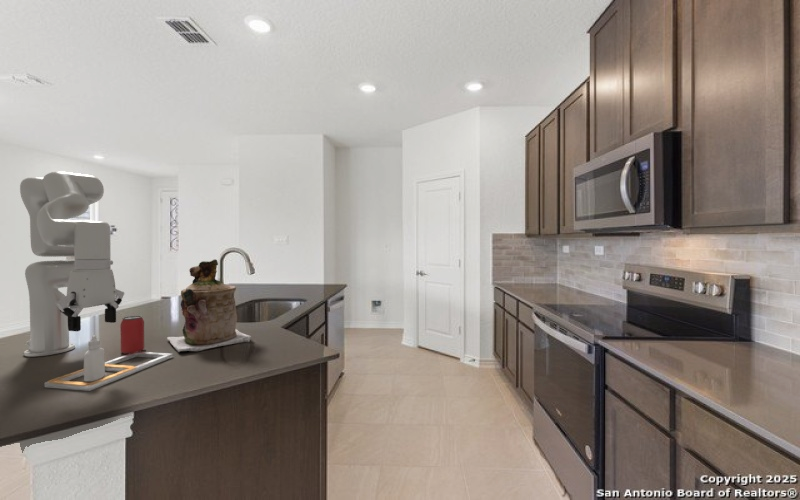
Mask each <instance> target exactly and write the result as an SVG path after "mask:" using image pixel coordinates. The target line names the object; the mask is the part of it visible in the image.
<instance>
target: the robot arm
mask: <svg viewBox="0 0 800 500" xmlns="http://www.w3.org/2000/svg"><path fill="white" fill-rule="evenodd" d="M19 184H20V185H19V192H20V197H21V200H22V203H23V205H24V207H25V209H26V210H27V213H28V216H29V231H30V233H29V234H30V235H29V237H30V249H31V251H32V253H33V255H35V256H37V257H42V258H43V257H44V258H45V257H46V258H51V257H52V258H55V257H57V258H61V257H64V258H65V257H67V258H68V257H73V259H74V260H73V259H72V260H71V259H70V260H42V261H41V260H40V261H35V262H33V263H30V264H29V265H27V266H26V268H25V271H24V277H25V281H26V285H27V290H28V297H29V299H28V300H29V333H30V334H29V335H30V336H29V337H30V339H28V340H27V341H25V342H24V345H25V346H28V349H27V350H24V351H23V356H25V357H36V358H37V357H45V356H52V355H57V354H63V353H66V352H69V351H71V350H73V349H75V348H76V344H75V343H73V342H70V332H80V331H81V328H82V325H81V324H82V321H81V320H82V319H81V315H80V313H81V312H82V310H83V309H86V308H87V309H88V308H93V307H99V306H102V305H104V306H105V307H106V308H104V322H105V323H110V324H112V323H116V322H117V309H118V308H119V305H120V304H121V303H122V300H123V298H124V296H125V292H124V291H121V290H119V289H116V281H115V280H116V279H115V275H114V271H113V269H112V268H111V266H112V265H114V261H113V260H111V225H110V224H109V223H108V222H105V221H97V220H81V219H80V220H79V219H77V220H76V219H73V218H77V217H79V216H82V215H84V214H85V213H86V212H87V211H88V210H89V206H90V205H92V204H95V203H98V202H99V201H101V199H103V196H104V193H105V189H104V185H103V182H102V181H101V179H99V178H98V177H97V176H94V175H90V174H81V173H73V172H66V171H52V172H48V173H46V174H45V175H44V176H43V177H41V176H40V177H39V176H38V177H35V176H33V177H27V178H24V179H22V180H21V182H20V183H19ZM60 288H67V289H66V294H65V293H63V292H61V291H60V290H59V289H60Z"/></svg>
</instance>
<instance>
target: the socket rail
mask: <svg viewBox="0 0 800 500" xmlns="http://www.w3.org/2000/svg"><path fill="white" fill-rule="evenodd" d="M137 357H139V358H152V359H151V360H149V361H146V362H143V363H140V364H138V365H136V366H134V365H127V364H126V365H125V364H119V363H123V362H125V361H128V360H132V359H133V358H137ZM172 358H174V353H169V352H152V351H140V352H134V353H130V354H125V355H122V356H119V357H116V358H114V359H110V360H108V361H105V372H115V373H113V374H112V373H111V374H110V375H108V376H105V377H102V378H100V379H98V380H95V381H91V382H85V381H74V380H75V379H77V378H80V377H81V378H82V377H84V368H82V369H79V370H76V371H73V372H70V373H67V374H63V375H61V376H58V377H55V378H52V379H49V380H47V381H45V382H44V388H49V389H51V388H52V389H59V390H60V389H61V390H62V389H63V390H73V391H74V390H75V391H85V392H90V391H93V390H96V389H98V388H100V387H102V386H106V385H108V384H110V383H113V382H115V381H118V380H121V379H123V378H126V377H128V376H130V375H133V374H135V373H137V372H140V371H144V370H146V369H147V368H150V367H153V366H155V365H158V364H160V363H163V362H165V361H167V360H170V359H172ZM72 380H73V381H72Z"/></svg>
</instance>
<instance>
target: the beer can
mask: <svg viewBox="0 0 800 500" xmlns="http://www.w3.org/2000/svg"><path fill="white" fill-rule="evenodd" d="M119 327H120V353H122V354H125V355H128V354H131V353H134V352H143V351H144V350H145V320H144V318H143V316H142V315H130V316H125V317H122V319H121V322H120V326H119Z"/></svg>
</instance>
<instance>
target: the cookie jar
mask: <svg viewBox="0 0 800 500" xmlns="http://www.w3.org/2000/svg"><path fill="white" fill-rule="evenodd" d="M218 265H219V263H218V259H212V260H210V261H209V260H207V261H206V260H205V261H201V262H199V263H198V265H196V266H191V267H190V268H189V274H190V275H189V276H191V277H193V279H192V283H190V284H189V285H188V286H186V288H185V289H181V291H180V296H181V301H180V307H181V312H182V313H181V314H182V316H183V318H184V319H185V320H184V321H185V322H184V324H183V325H184V326H183V329H182V336H168V337H166V340H167V341H169V342H170V344H171V346H173V348H174V349H175V350H176V351H177V352H178V353H180V352H187V351H189V352H200V351H204V350H208V349H212V348H213V349H214V348H219V347H222V346H228V345H232V344H233V345H234V344H240V343H245V342H247V343H249V342H250V340H251V338H252V336H251V335H249V334H246V333H243V332H241V331H239V330H238V329H237V321H238V314H237V308H236V300H235V292H236V291H237V287H236V286H234V285H228V284H226V283H223V282H222V281H220V280H217V279H216V275H217V272H218V271H217V268H218V267H217V266H218Z"/></svg>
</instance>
